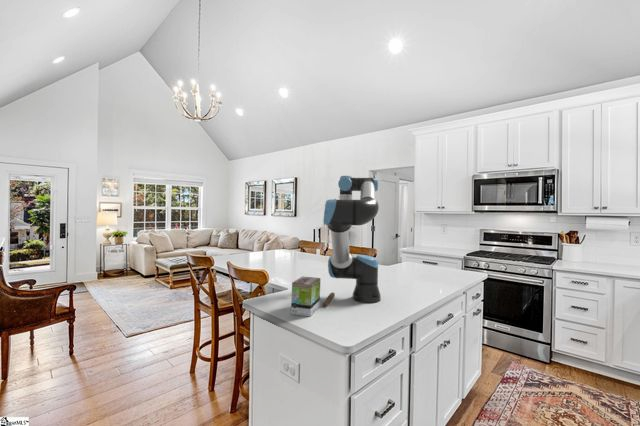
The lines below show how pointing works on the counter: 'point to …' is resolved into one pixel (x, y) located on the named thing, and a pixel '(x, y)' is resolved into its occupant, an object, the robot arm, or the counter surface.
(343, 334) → the counter surface
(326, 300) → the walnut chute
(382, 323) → the counter surface
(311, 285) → the tea box
